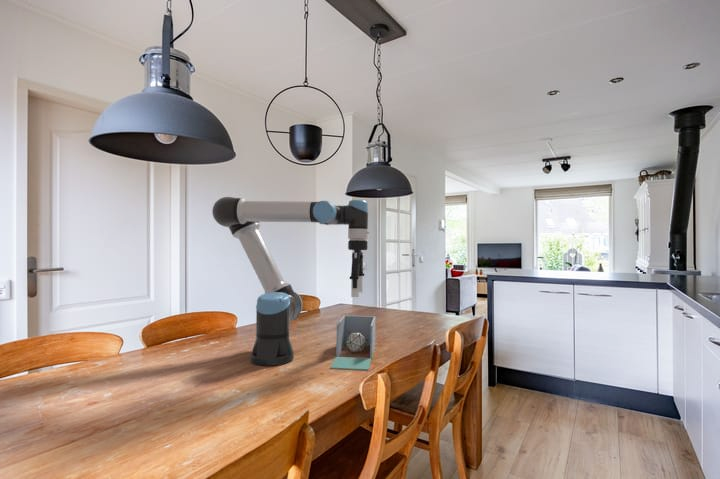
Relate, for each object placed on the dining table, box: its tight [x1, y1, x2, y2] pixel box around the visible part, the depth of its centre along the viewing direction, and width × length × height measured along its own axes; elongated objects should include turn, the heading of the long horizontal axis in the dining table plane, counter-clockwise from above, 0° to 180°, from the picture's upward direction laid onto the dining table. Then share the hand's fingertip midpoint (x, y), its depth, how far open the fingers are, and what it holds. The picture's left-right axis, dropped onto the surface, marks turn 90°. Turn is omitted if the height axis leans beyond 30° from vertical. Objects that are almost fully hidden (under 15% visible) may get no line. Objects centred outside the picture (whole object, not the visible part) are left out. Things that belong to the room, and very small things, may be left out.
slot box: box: [335, 314, 376, 359], centre depth 147 cm, size 13×18×12 cm
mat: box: [329, 356, 372, 371], centre depth 130 cm, size 13×12×1 cm
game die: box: [344, 331, 368, 355], centre depth 144 cm, size 9×8×10 cm
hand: (357, 294), depth 144 cm, fingers open, 13 cm apart
